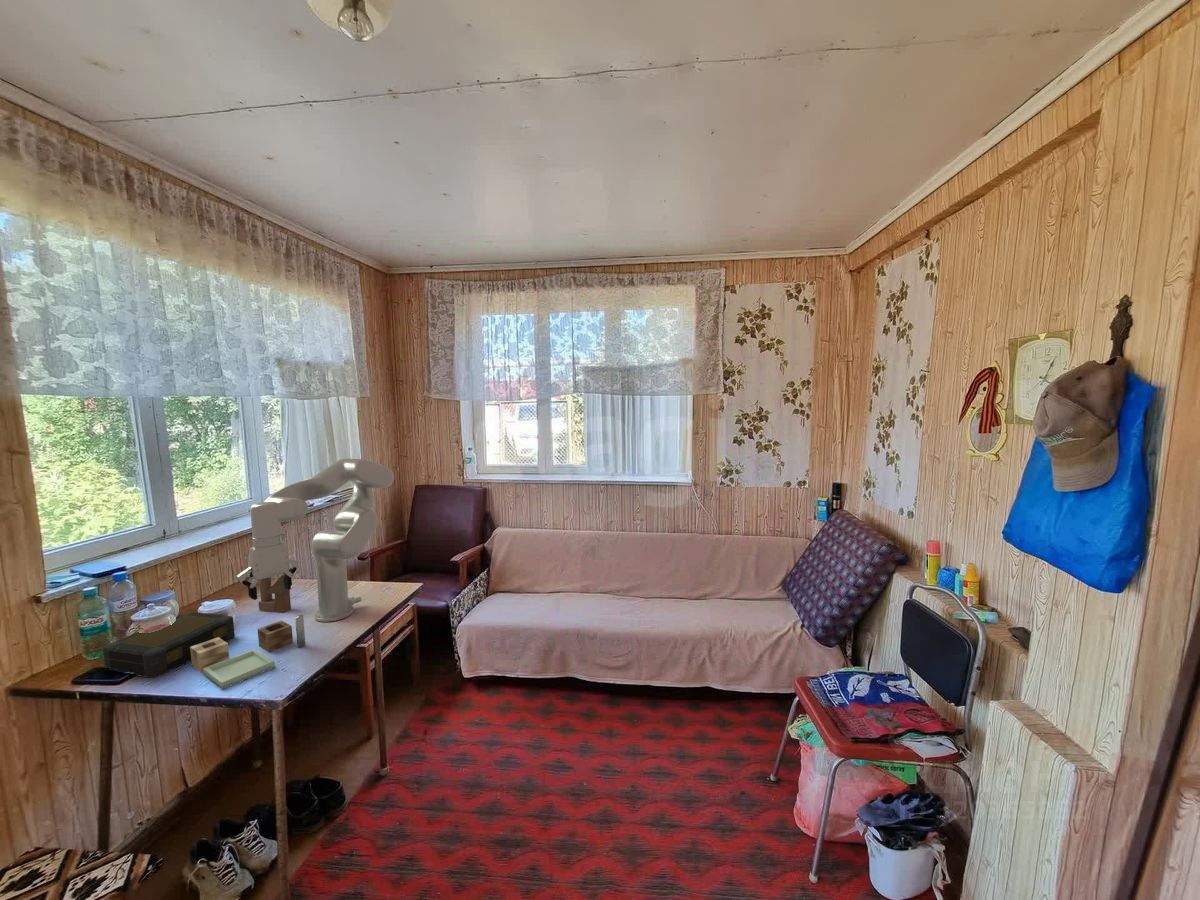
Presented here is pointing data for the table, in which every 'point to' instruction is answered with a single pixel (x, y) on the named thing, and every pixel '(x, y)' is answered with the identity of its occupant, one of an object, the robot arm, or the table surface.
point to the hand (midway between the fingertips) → (271, 593)
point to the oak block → (209, 653)
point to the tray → (238, 668)
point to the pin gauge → (300, 631)
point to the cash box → (166, 644)
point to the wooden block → (281, 596)
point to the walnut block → (275, 636)
